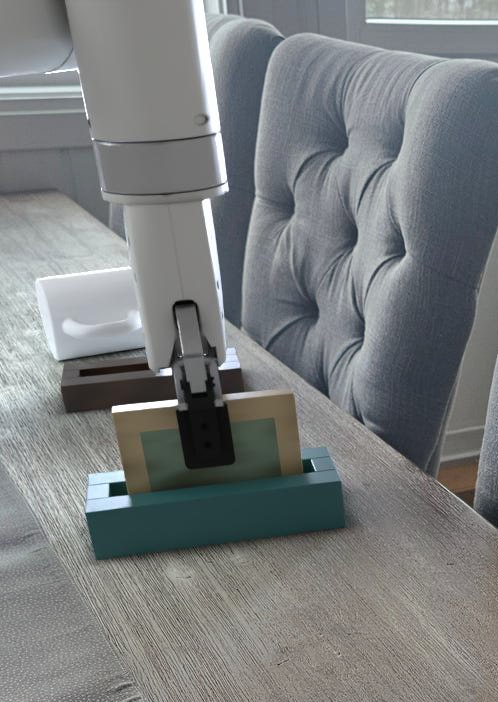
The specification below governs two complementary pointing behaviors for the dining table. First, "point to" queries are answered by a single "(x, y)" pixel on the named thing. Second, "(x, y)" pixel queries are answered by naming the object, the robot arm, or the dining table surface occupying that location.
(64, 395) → the rack
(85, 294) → the white bread box
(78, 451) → the dining table surface
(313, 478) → the holder
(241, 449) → the frame
